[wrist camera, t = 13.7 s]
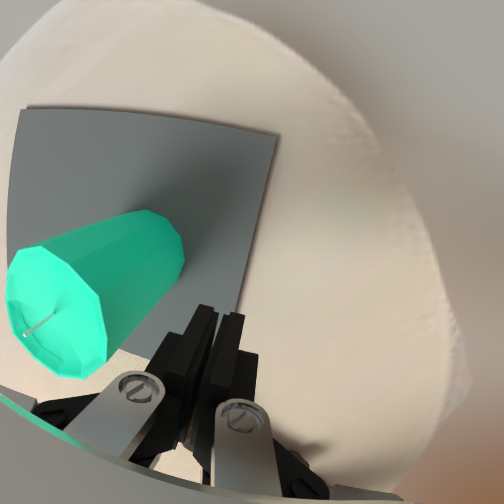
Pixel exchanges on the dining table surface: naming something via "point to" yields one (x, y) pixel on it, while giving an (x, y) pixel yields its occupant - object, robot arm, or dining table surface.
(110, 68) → the dining table surface
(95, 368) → the candle
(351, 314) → the dining table surface
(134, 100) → the dining table surface
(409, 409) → the dining table surface
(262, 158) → the mat
